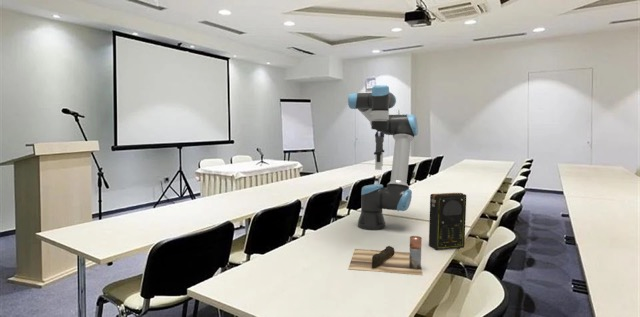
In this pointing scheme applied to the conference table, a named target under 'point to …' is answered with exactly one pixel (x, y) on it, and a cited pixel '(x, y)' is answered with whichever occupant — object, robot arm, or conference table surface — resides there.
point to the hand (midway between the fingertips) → (379, 167)
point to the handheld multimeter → (447, 220)
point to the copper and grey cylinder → (415, 252)
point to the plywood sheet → (389, 265)
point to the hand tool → (382, 256)
